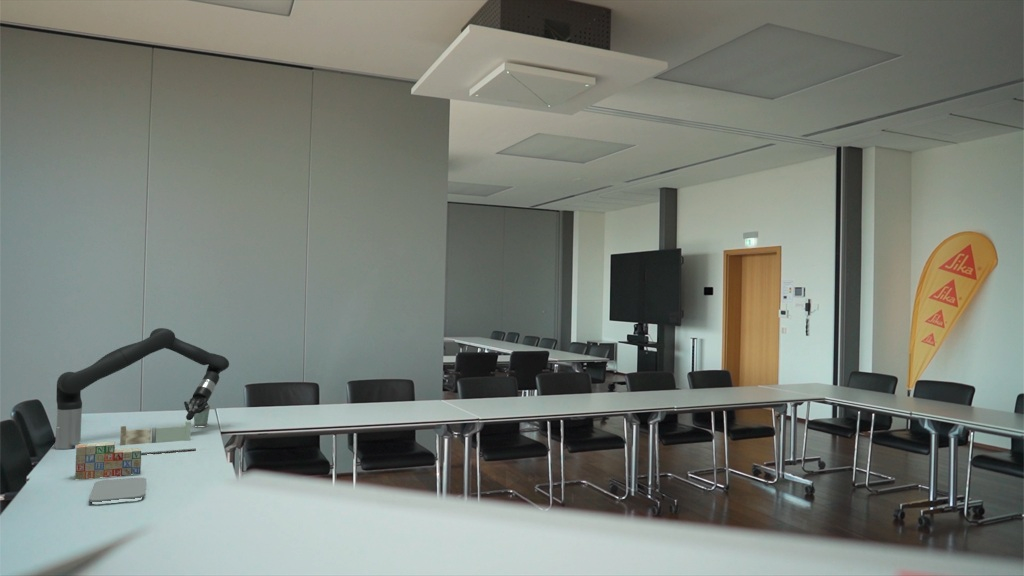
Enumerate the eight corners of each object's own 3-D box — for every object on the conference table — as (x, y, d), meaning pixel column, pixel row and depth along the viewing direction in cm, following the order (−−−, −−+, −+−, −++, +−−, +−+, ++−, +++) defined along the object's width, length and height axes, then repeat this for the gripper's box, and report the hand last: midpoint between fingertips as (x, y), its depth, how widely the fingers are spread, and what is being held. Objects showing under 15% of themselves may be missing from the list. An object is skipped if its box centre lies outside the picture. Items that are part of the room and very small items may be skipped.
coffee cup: (188, 426, 355) (189, 404, 356) (201, 424, 363) (202, 402, 363) (200, 428, 352) (201, 405, 352) (213, 426, 360) (214, 403, 360)
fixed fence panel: (120, 446, 303) (121, 426, 303) (120, 445, 304) (120, 426, 305) (150, 443, 309) (151, 425, 309) (150, 442, 311) (151, 424, 311)
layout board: (118, 457, 286) (118, 454, 286) (116, 444, 309) (116, 442, 309) (195, 451, 302) (196, 448, 302) (188, 439, 325) (188, 437, 325)
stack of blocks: (140, 471, 266) (142, 439, 266) (140, 475, 260) (141, 442, 261) (76, 476, 256) (77, 443, 256) (74, 480, 251) (76, 446, 251)
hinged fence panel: (151, 443, 309) (152, 424, 309) (151, 442, 311) (152, 423, 311) (190, 440, 318) (190, 422, 318) (189, 439, 319) (190, 421, 320)
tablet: (87, 507, 221) (88, 500, 221) (95, 487, 244) (95, 480, 244) (144, 502, 228) (144, 495, 228) (146, 483, 251) (146, 476, 251)
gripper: (189, 385, 335) (172, 413, 323) (214, 386, 333) (198, 415, 321) (195, 394, 340) (178, 423, 328) (219, 396, 338) (204, 424, 326)
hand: (188, 419), depth 324 cm, fingers closed
